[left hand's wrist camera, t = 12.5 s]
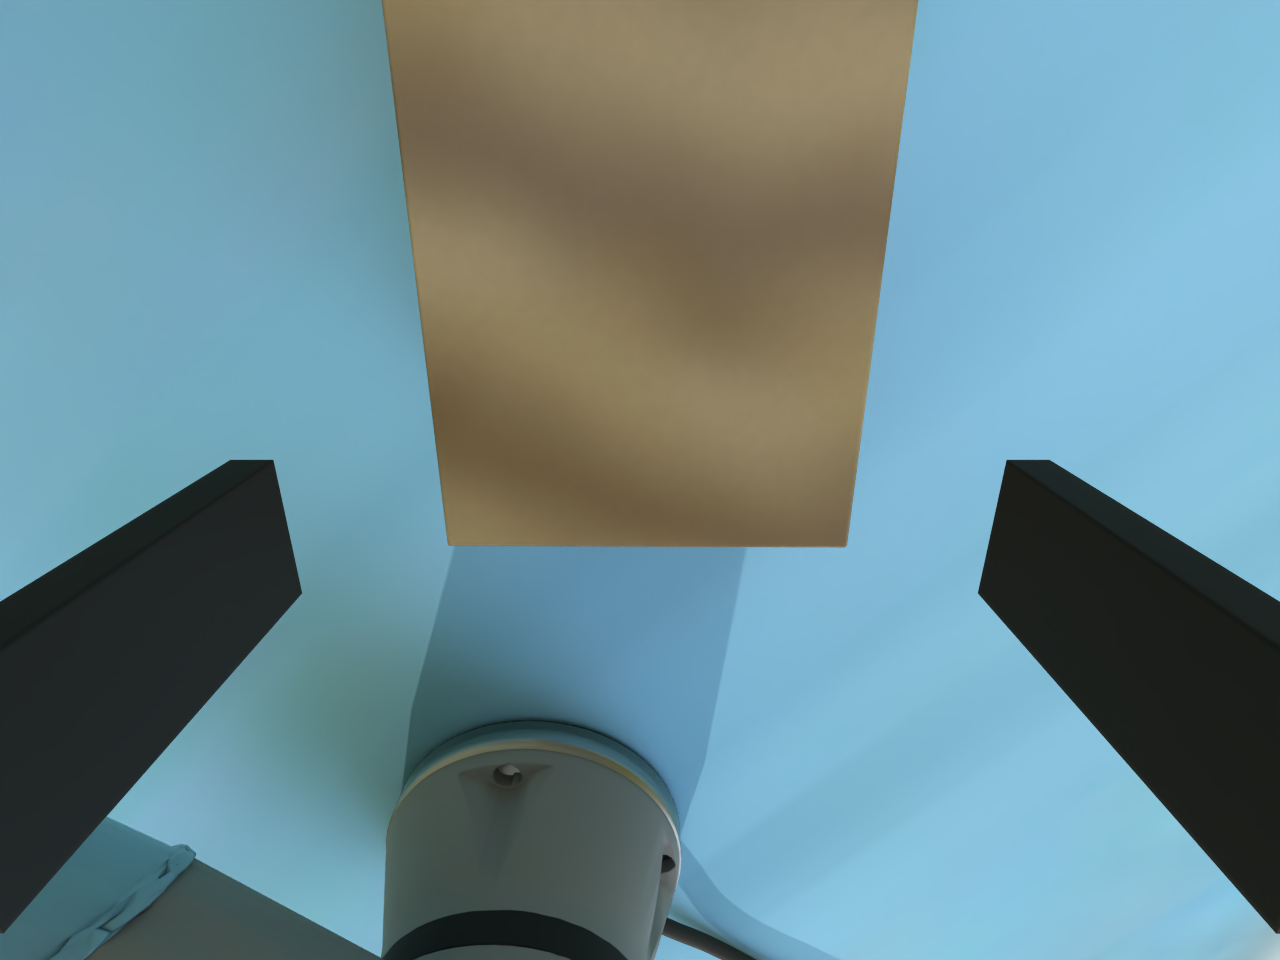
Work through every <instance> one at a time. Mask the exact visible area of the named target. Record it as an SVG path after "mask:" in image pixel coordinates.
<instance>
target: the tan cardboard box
mask: <svg viewBox="0 0 1280 960" xmlns="http://www.w3.org/2000/svg"><path fill="white" fill-rule="evenodd" d="M382 6H383V14H384V22H385V31H386V39H387V47H388V55H389V63H390V72H391V80H392V88H393V96H394V105H395V113H396V121H397V129H398V138H399V146H400V154H401V162H402V171H403V179H404V187H405V195H406V203H407V212H408V220H409V228H410V236H411V245H412V253H413V261H414V269H415V278H416V286H417V294H418V302H419V311H420V319H421V327H422V335H423V343H424V352H425V360H426V368H427V376H428V385H429V393H430V401H431V409H432V418H433V426H434V434H435V442H436V451H437V459H438V467H439V475H440V483H441V492H442V500H443V508H444V516H445V525H446V533H447V541H448V545H450V546H641V547H846V546H847V540H848V533H849V525H850V517H851V510H852V502H853V494H854V487H855V479H856V472H857V464H858V456H859V449H860V441H861V433H862V426H863V418H864V411H865V403H866V395H867V388H868V380H869V372H870V365H871V357H872V349H873V342H874V334H875V327H876V319H877V311H878V304H879V296H880V288H881V281H882V273H883V265H884V258H885V250H886V243H887V235H888V227H889V220H890V212H891V204H892V197H893V189H894V181H895V174H896V166H897V159H898V151H899V143H900V136H901V128H902V120H903V113H904V105H905V97H906V90H907V82H908V75H909V67H910V59H911V52H912V44H913V36H914V29H915V21H916V14H917V6H918V0H382Z"/></svg>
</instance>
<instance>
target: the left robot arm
mask: <svg viewBox="0 0 1280 960" xmlns="http://www.w3.org/2000/svg"><path fill="white" fill-rule="evenodd" d="M301 594H302V591H301V586H300V582H299V577H298V572H297V568H296V563H295V558H294V554H293V549H292V544H291V540H290V535H289V531H288V526H287V521H286V517H285V512H284V507H283V503H282V498H281V493H280V489H279V484H278V480H277V475H276V470H275V466H274V461H273V460H230V461H228V462H226V463H225V464H223V465H222V466H220V467H218V468H217V469H215V470H213V471H212V472H210V473H209V474H207V475H205V476H204V477H202V478H200V479H199V480H197V481H196V482H194V483H192V484H191V485H189V486H187V487H186V488H184V489H183V490H181V491H179V492H178V493H176V494H174V495H173V496H171V497H170V498H168V499H166V500H165V501H163V502H161V503H160V504H158V505H157V506H155V507H153V508H152V509H150V510H148V511H147V512H145V513H144V514H142V515H140V516H139V517H137V518H135V519H134V520H132V521H131V522H129V523H127V524H126V525H124V526H122V527H121V528H119V529H118V530H116V531H114V532H113V533H111V534H109V535H108V536H106V537H105V538H103V539H101V540H100V541H98V542H96V543H95V544H93V545H92V546H90V547H88V548H87V549H85V550H83V551H82V552H80V553H79V554H77V555H75V556H74V557H72V558H70V559H69V560H67V561H66V562H64V563H62V564H61V565H59V566H57V567H56V568H54V569H53V570H51V571H49V572H48V573H46V574H45V575H43V576H41V577H40V578H38V579H36V580H35V581H33V582H32V583H30V584H28V585H27V586H25V587H23V588H22V589H20V590H19V591H17V592H15V593H14V594H12V595H10V596H9V597H7V598H6V599H4V600H2V601H1V602H0V960H654V958H655V955H656V952H657V948H658V945H659V942H660V938H661V935H664V936H667V937H669V938H672V939H674V940H676V941H679V942H682V943H684V944H687V945H689V946H692V947H695V948H697V949H700V950H702V951H704V952H707V953H709V954H711V955H713V956H715V957H717V958H719V959H721V960H756V959H754V958H752V957H750V956H749V955H747V954H745V953H743V952H741V951H739V950H738V949H736V948H734V947H732V946H730V945H728V944H726V943H724V942H722V941H720V940H718V939H716V938H714V937H712V936H710V935H708V934H705V933H703V932H701V931H698V930H696V929H693V928H691V927H688V926H686V925H683V924H681V923H678V922H676V921H674V920H671V919H669V918H667V915H668V912H669V909H670V905H671V902H672V898H673V895H674V892H675V888H676V885H677V883H678V880H679V875H680V870H681V847H680V829H679V818H678V813H677V809H676V806H675V803H674V800H673V798H672V796H671V794H670V792H669V790H668V788H667V787H666V785H665V784H664V782H663V781H662V779H661V778H660V777H659V776H658V774H657V773H656V772H655V771H654V770H653V769H652V768H651V767H650V766H649V765H648V764H647V763H646V762H645V761H644V760H642V759H641V758H640V757H639V756H638V755H636V754H635V753H633V752H632V751H630V750H629V749H628V748H626V747H624V746H623V745H621V744H619V743H617V742H615V741H614V740H611V739H609V738H607V737H605V736H603V735H600V734H598V733H595V732H592V731H589V730H586V729H582V728H579V727H575V726H571V725H565V724H560V723H553V722H543V721H517V722H506V723H499V724H494V725H489V726H484V727H481V728H478V729H474V730H471V731H468V732H466V733H463V734H461V735H458V736H457V737H455V738H453V739H451V740H449V741H447V742H445V743H444V744H442V745H441V746H439V747H437V748H436V749H435V750H433V751H432V752H431V753H430V754H429V755H427V756H426V757H425V758H424V759H423V760H422V761H421V762H420V763H419V764H418V765H417V767H416V768H415V769H414V771H413V772H412V773H411V775H410V777H409V778H408V780H407V782H406V784H405V786H404V788H403V791H402V793H401V796H400V798H399V800H398V803H397V805H396V808H395V810H394V813H393V815H392V817H391V820H390V823H389V827H388V830H387V838H386V864H385V891H384V919H383V947H382V955H381V958H380V957H378V956H376V955H374V954H373V953H371V952H369V951H367V950H365V949H363V948H361V947H359V946H358V945H356V944H354V943H352V942H350V941H348V940H346V939H345V938H343V937H341V936H339V935H337V934H335V933H333V932H331V931H330V930H328V929H326V928H324V927H322V926H320V925H318V924H317V923H315V922H313V921H311V920H309V919H307V918H305V917H303V916H302V915H300V914H298V913H296V912H294V911H292V910H290V909H289V908H287V907H285V906H283V905H281V904H279V903H277V902H275V901H274V900H272V899H270V898H268V897H266V896H264V895H262V894H261V893H259V892H257V891H255V890H253V889H251V888H249V887H247V886H246V885H244V884H242V883H240V882H238V881H236V880H234V879H233V878H231V877H229V876H227V875H225V874H223V873H221V872H219V871H218V870H216V869H214V868H212V867H210V866H208V865H206V864H205V863H203V862H201V861H199V860H197V859H195V856H196V853H195V852H194V851H193V850H192V849H191V848H190V847H189V846H187V845H183V844H181V845H176V846H169V845H167V844H165V843H163V842H161V841H158V840H156V839H154V838H152V837H150V836H147V835H145V834H143V833H141V832H139V831H137V830H134V829H132V828H130V827H128V826H126V825H123V824H121V823H119V822H117V821H115V820H113V819H110V818H108V817H106V816H107V815H108V814H109V813H110V812H111V811H112V809H113V808H114V807H115V806H116V805H117V804H118V803H119V801H120V800H121V799H122V798H123V797H124V796H125V795H126V793H127V792H128V791H129V790H130V789H131V788H132V787H133V785H134V784H135V783H136V782H137V781H138V780H139V779H140V777H141V776H142V775H143V774H144V773H145V772H146V771H147V770H148V768H149V767H150V766H151V765H152V764H153V763H154V762H155V760H156V759H157V758H158V757H159V756H160V755H161V754H162V752H163V751H164V750H165V749H166V748H167V747H168V746H169V744H170V743H171V742H172V741H173V740H174V739H175V738H176V736H177V735H178V734H179V733H180V732H181V731H182V730H183V728H184V727H185V726H186V725H187V724H188V723H189V722H190V720H191V719H192V718H193V717H194V716H195V715H196V714H197V712H198V711H199V710H200V709H201V708H202V707H203V706H204V704H205V703H206V702H207V701H208V700H209V699H210V698H211V697H212V695H213V694H214V693H215V692H216V691H217V690H218V689H219V687H220V686H221V685H222V684H223V683H224V682H225V681H226V679H227V678H228V677H229V676H230V675H231V674H232V673H233V671H234V670H235V669H236V668H237V667H238V666H239V665H240V663H241V662H242V661H243V660H244V659H245V658H246V657H247V655H248V654H249V653H250V652H251V651H252V650H253V649H254V647H255V646H256V645H257V644H258V643H259V642H260V641H261V639H262V638H263V637H264V636H265V635H266V634H267V633H268V631H269V630H270V629H271V628H272V627H273V626H274V625H275V624H276V622H277V621H278V620H279V619H280V618H281V617H282V616H283V614H284V613H285V612H286V611H287V610H288V609H289V608H290V606H291V605H292V604H293V603H294V602H295V601H296V600H297V598H298V597H299V596H300V595H301ZM978 594H979V595H980V596H981V597H982V598H983V600H984V601H985V602H986V603H987V604H988V605H989V606H990V608H991V609H992V610H993V611H994V612H995V613H996V614H997V616H998V617H999V618H1000V619H1001V620H1002V621H1003V622H1004V624H1005V625H1006V626H1007V627H1008V628H1009V629H1010V630H1011V632H1012V633H1013V634H1014V635H1015V636H1016V637H1017V638H1018V639H1019V641H1020V642H1021V643H1022V644H1023V645H1024V646H1025V647H1026V649H1027V650H1028V651H1029V652H1030V653H1031V654H1032V655H1033V657H1034V658H1035V659H1036V660H1037V661H1038V662H1039V663H1040V665H1041V666H1042V667H1043V668H1044V669H1045V670H1046V671H1047V673H1048V674H1049V675H1050V676H1051V677H1052V678H1053V679H1054V681H1055V682H1056V683H1057V684H1058V685H1059V686H1060V687H1061V689H1062V690H1063V691H1064V692H1065V693H1066V694H1067V695H1068V697H1069V698H1070V699H1071V700H1072V701H1073V702H1074V703H1075V704H1076V706H1077V707H1078V708H1079V709H1080V710H1081V711H1082V712H1083V714H1084V715H1085V716H1086V717H1087V718H1088V719H1089V720H1090V722H1091V723H1092V724H1093V725H1094V726H1095V727H1096V728H1097V730H1098V731H1099V732H1100V733H1101V734H1102V735H1103V736H1104V738H1105V739H1106V740H1107V741H1108V742H1109V743H1110V744H1111V746H1112V747H1113V748H1114V749H1115V750H1116V751H1117V752H1118V754H1119V755H1120V756H1121V757H1122V758H1123V759H1124V760H1125V762H1126V763H1127V764H1128V765H1129V766H1130V767H1131V768H1132V770H1133V771H1134V772H1135V773H1136V774H1137V775H1138V776H1139V777H1140V779H1141V780H1142V781H1143V782H1144V783H1145V784H1146V785H1147V787H1148V788H1149V789H1150V790H1151V791H1152V792H1153V793H1154V795H1155V796H1156V797H1157V798H1158V799H1159V800H1160V801H1161V803H1162V804H1163V805H1164V806H1165V807H1166V808H1167V809H1168V811H1169V812H1170V813H1171V814H1172V815H1173V816H1174V817H1175V819H1176V820H1177V821H1178V822H1179V823H1180V824H1181V825H1182V827H1183V828H1184V829H1185V830H1186V831H1187V832H1188V833H1189V835H1190V836H1191V837H1192V838H1193V839H1194V840H1195V841H1196V843H1197V844H1198V845H1199V846H1200V847H1201V848H1202V849H1203V850H1204V852H1205V853H1206V854H1207V855H1208V856H1209V857H1210V858H1211V860H1212V861H1213V862H1214V863H1215V864H1216V865H1217V866H1218V868H1219V869H1220V870H1221V871H1222V872H1223V873H1224V874H1225V876H1226V877H1227V878H1228V879H1229V880H1230V881H1231V882H1232V884H1233V885H1234V886H1235V887H1236V888H1237V889H1238V890H1239V892H1240V893H1241V894H1242V895H1243V896H1244V897H1245V898H1246V900H1247V901H1248V902H1249V903H1250V904H1251V905H1252V906H1253V908H1254V909H1255V910H1256V911H1257V912H1258V913H1259V914H1260V915H1261V917H1262V918H1263V919H1264V920H1265V921H1266V922H1267V923H1268V925H1269V926H1270V927H1271V928H1272V929H1273V930H1274V931H1275V933H1276V934H1280V602H1279V601H1278V600H1276V599H1274V598H1273V597H1271V596H1270V595H1268V594H1266V593H1265V592H1263V591H1261V590H1260V589H1258V588H1257V587H1255V586H1253V585H1252V584H1250V583H1248V582H1247V581H1245V580H1244V579H1242V578H1240V577H1239V576H1237V575H1235V574H1234V573H1232V572H1231V571H1229V570H1227V569H1226V568H1224V567H1223V566H1221V565H1219V564H1218V563H1216V562H1214V561H1213V560H1211V559H1210V558H1208V557H1206V556H1205V555H1203V554H1201V553H1200V552H1198V551H1197V550H1195V549H1193V548H1192V547H1190V546H1188V545H1187V544H1185V543H1184V542H1182V541H1180V540H1179V539H1177V538H1175V537H1174V536H1172V535H1171V534H1169V533H1167V532H1166V531H1164V530H1162V529H1161V528H1159V527H1158V526H1156V525H1154V524H1153V523H1151V522H1149V521H1148V520H1146V519H1145V518H1143V517H1141V516H1140V515H1138V514H1136V513H1135V512H1133V511H1132V510H1130V509H1128V508H1127V507H1125V506H1123V505H1122V504H1120V503H1119V502H1117V501H1115V500H1114V499H1112V498H1110V497H1109V496H1107V495H1106V494H1104V493H1102V492H1101V491H1099V490H1097V489H1096V488H1094V487H1093V486H1091V485H1089V484H1088V483H1086V482H1084V481H1083V480H1081V479H1080V478H1078V477H1076V476H1075V475H1073V474H1071V473H1070V472H1068V471H1067V470H1065V469H1063V468H1062V467H1060V466H1058V465H1057V464H1055V463H1054V462H1052V461H1050V460H1007V461H1006V466H1005V470H1004V475H1003V480H1002V484H1001V489H1000V493H999V498H998V503H997V507H996V512H995V517H994V521H993V526H992V531H991V535H990V540H989V544H988V549H987V554H986V558H985V563H984V568H983V572H982V577H981V582H980V586H979V591H978Z"/></svg>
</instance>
